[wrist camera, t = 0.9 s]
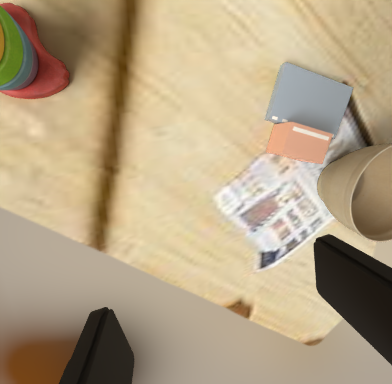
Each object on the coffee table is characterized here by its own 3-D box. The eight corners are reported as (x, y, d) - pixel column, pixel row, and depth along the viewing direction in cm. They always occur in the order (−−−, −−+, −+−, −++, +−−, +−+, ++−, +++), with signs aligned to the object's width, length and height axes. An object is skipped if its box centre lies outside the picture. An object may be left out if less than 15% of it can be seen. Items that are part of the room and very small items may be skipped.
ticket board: (280, 65, 33) (286, 61, 31) (345, 89, 36) (353, 87, 34) (264, 119, 35) (269, 118, 33) (328, 138, 38) (334, 138, 36)
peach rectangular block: (274, 124, 35) (292, 121, 30) (310, 135, 37) (333, 134, 32) (265, 151, 36) (282, 153, 31) (301, 161, 38) (322, 163, 33)
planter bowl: (380, 148, 40) (456, 150, 30) (354, 220, 44) (414, 245, 33) (314, 135, 37) (374, 132, 27) (292, 214, 40) (337, 239, 30)
